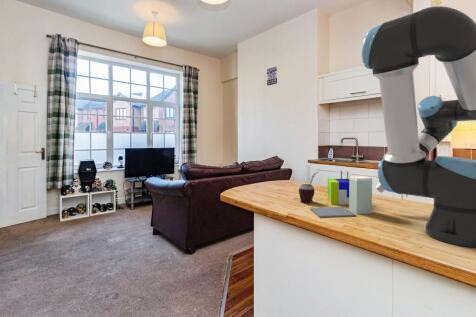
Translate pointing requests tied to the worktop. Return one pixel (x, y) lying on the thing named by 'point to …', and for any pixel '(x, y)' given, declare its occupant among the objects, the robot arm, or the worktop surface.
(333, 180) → the puzzle toy
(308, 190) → the mate gourd
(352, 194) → the sage block
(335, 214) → the rubber mat
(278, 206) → the worktop surface
